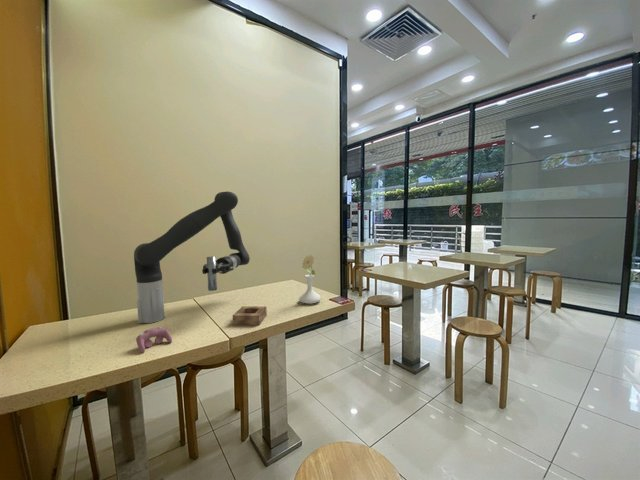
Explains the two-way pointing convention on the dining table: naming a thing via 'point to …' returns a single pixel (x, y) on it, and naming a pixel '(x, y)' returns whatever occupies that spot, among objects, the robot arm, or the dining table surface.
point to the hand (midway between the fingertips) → (208, 271)
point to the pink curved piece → (144, 337)
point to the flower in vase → (309, 283)
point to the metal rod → (211, 277)
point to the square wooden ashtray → (249, 315)
